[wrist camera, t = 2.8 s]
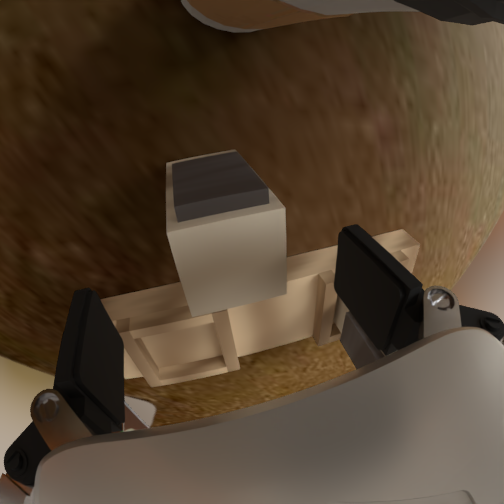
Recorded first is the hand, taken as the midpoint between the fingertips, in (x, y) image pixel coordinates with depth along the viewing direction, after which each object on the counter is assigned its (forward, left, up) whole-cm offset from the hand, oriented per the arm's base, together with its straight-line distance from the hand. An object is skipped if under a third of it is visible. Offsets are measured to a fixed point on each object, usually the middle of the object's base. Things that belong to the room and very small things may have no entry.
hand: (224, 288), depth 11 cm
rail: (-4, +9, -8) cm, 13 cm away
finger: (-1, -1, -8) cm, 8 cm away
